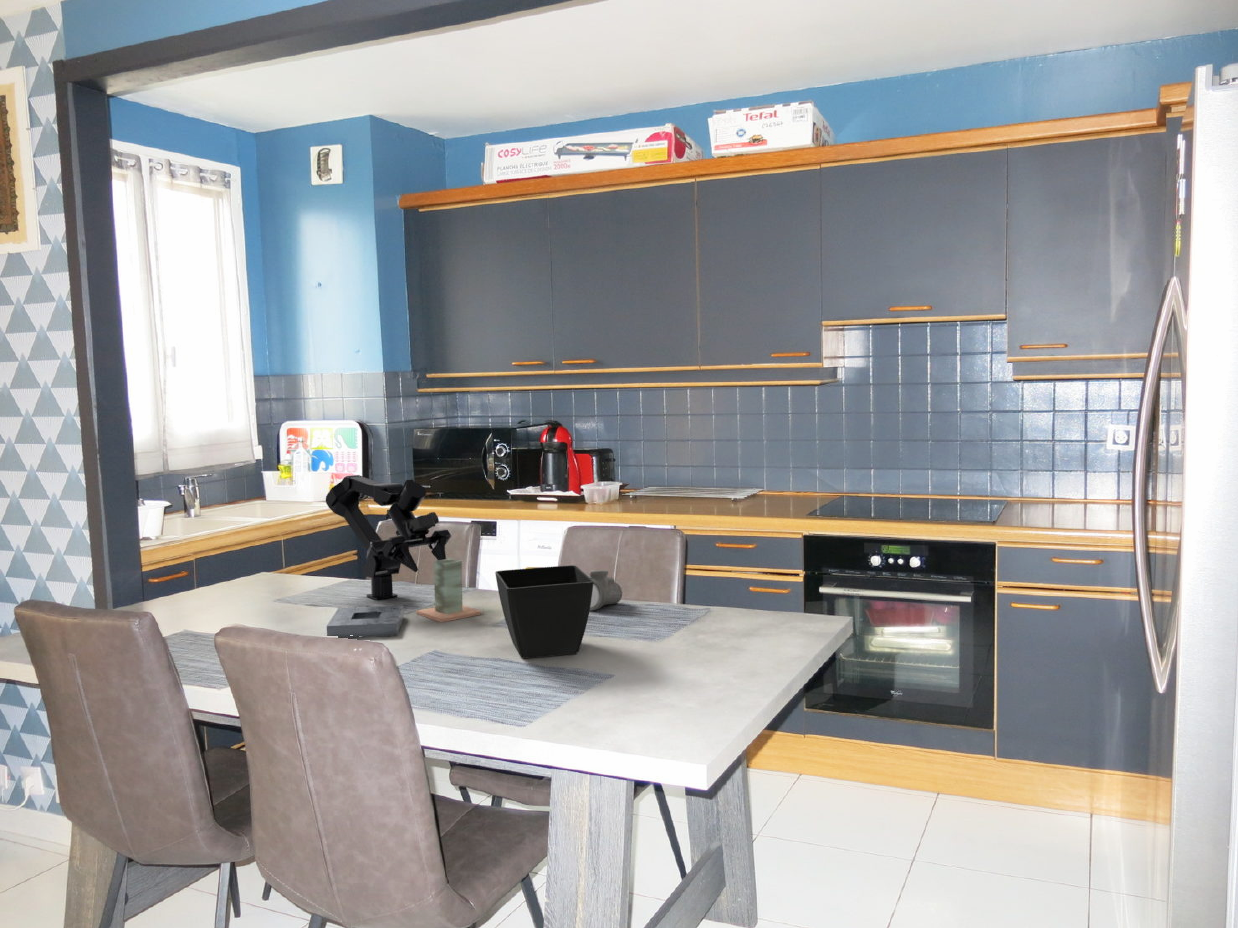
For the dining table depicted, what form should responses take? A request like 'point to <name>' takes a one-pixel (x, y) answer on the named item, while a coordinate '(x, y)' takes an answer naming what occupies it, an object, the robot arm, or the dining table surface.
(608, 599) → the pipe fitting
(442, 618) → the terracotta pad
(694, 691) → the dining table surface
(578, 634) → the flower pot
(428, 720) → the dining table surface
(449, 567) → the square plug
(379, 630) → the socket plate
